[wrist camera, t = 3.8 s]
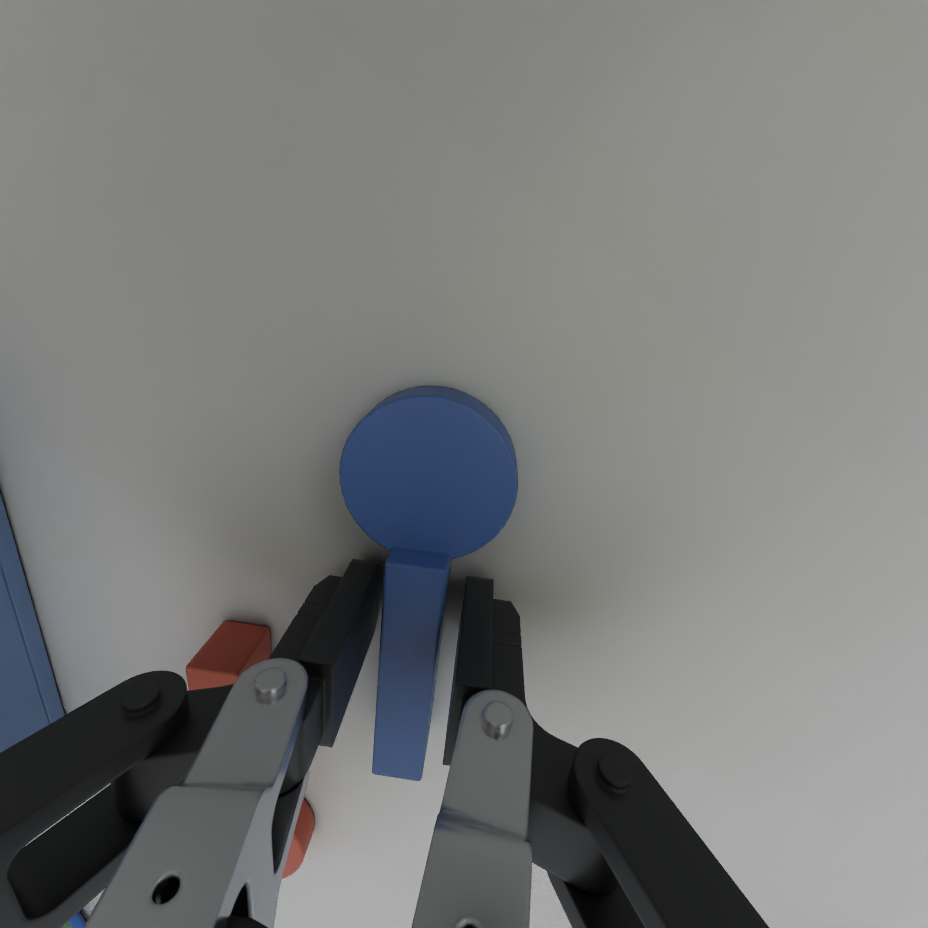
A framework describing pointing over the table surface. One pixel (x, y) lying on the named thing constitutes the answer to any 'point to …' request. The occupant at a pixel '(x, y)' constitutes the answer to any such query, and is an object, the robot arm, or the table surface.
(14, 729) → the blue tote
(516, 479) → the blue spoon
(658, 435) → the table surface
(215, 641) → the terracotta spoon
